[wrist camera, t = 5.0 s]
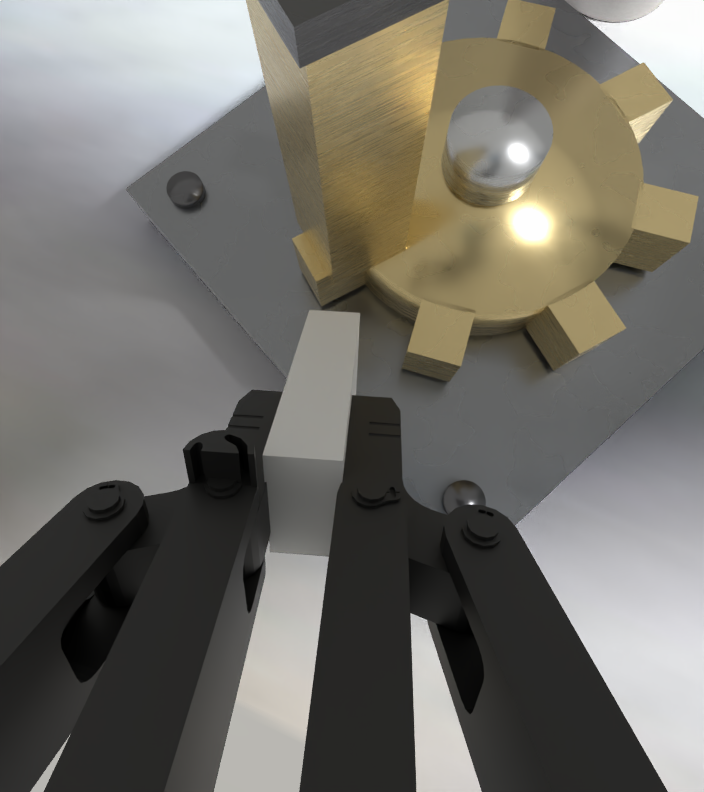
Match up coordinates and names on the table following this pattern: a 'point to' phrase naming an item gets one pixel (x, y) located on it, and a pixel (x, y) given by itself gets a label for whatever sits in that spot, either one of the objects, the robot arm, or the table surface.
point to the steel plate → (390, 331)
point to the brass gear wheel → (430, 193)
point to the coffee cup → (615, 8)
